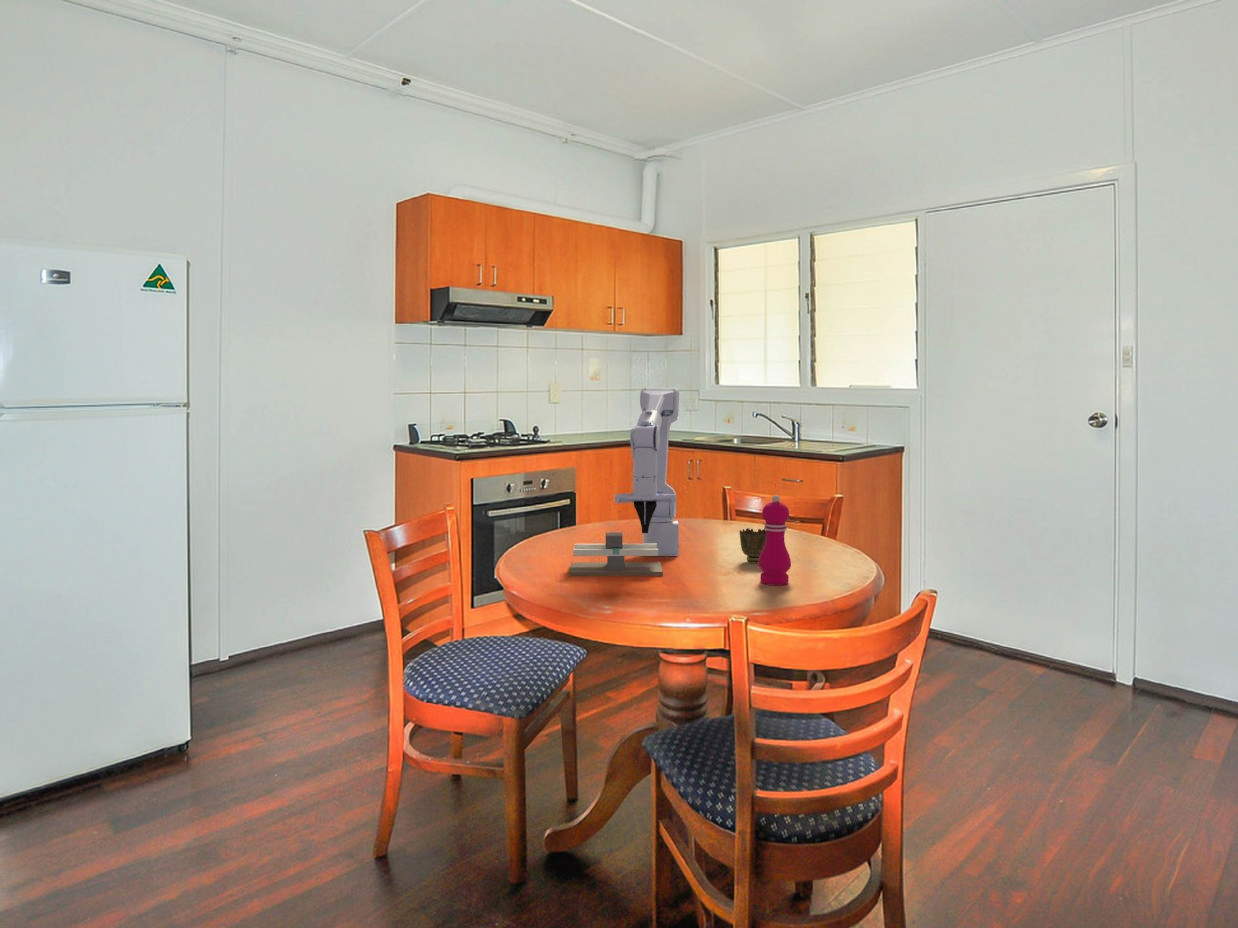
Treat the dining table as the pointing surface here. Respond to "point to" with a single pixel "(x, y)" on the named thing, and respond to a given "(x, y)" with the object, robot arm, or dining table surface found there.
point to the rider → (614, 540)
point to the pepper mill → (775, 544)
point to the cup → (752, 543)
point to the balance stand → (616, 560)
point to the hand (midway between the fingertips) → (644, 532)
